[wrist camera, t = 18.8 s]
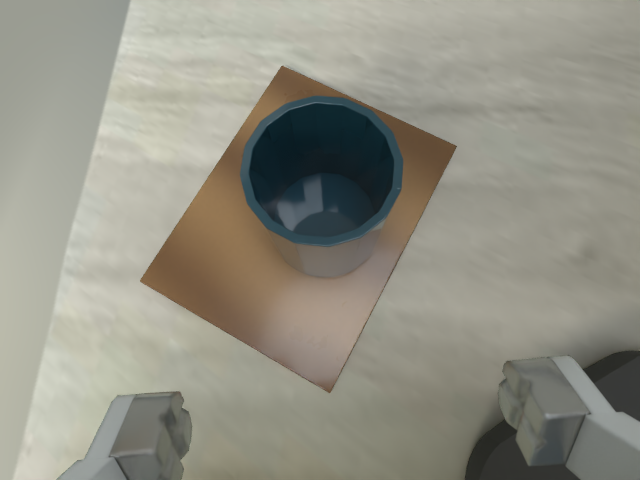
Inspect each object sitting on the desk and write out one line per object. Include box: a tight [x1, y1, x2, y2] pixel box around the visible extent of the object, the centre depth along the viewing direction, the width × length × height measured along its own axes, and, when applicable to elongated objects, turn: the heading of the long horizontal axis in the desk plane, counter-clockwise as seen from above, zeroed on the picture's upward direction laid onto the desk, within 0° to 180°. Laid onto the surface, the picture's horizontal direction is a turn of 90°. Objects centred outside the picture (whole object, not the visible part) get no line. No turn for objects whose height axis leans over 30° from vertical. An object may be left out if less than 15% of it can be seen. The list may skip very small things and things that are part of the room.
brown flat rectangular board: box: [140, 66, 457, 393], centre depth 25 cm, size 17×13×1 cm
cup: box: [240, 95, 404, 278], centre depth 21 cm, size 7×7×8 cm
